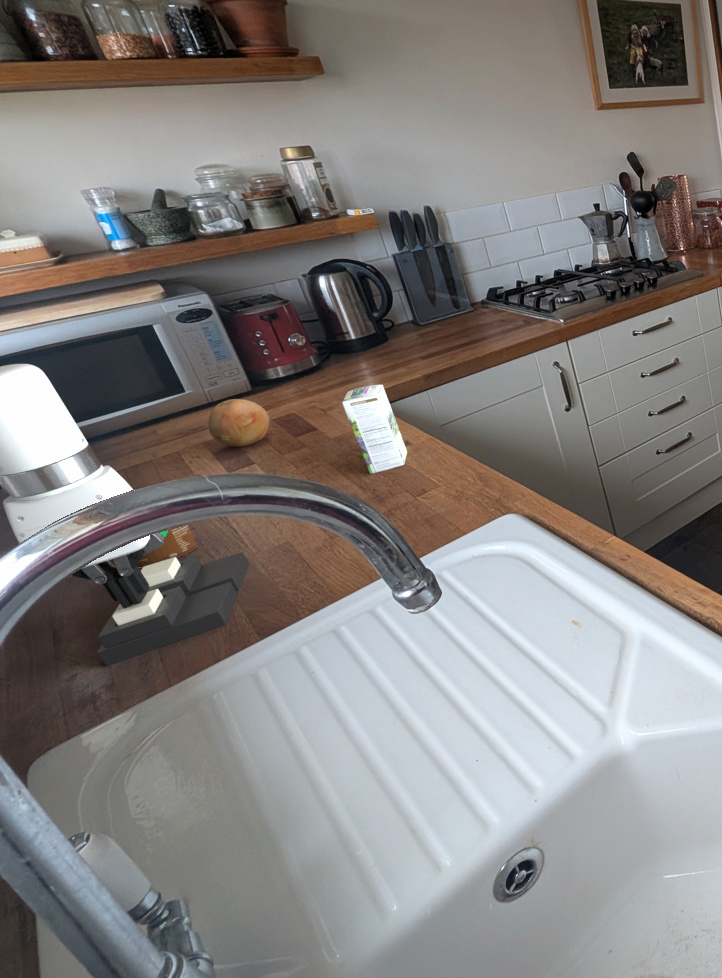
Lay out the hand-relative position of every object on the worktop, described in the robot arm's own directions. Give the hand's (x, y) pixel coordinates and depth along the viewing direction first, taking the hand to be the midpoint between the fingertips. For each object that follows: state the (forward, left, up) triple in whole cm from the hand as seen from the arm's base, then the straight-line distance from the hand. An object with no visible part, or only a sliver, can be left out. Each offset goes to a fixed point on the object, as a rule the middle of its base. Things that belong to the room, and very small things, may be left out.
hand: (136, 599), depth 84 cm
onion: (-1, +67, -6) cm, 67 cm away
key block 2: (+2, 0, -6) cm, 6 cm away
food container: (-6, +23, -6) cm, 25 cm away
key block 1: (+2, +8, -6) cm, 10 cm away
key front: (0, 0, -2) cm, 2 cm away
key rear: (0, +8, -2) cm, 8 cm away
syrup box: (+26, +34, -6) cm, 43 cm away
